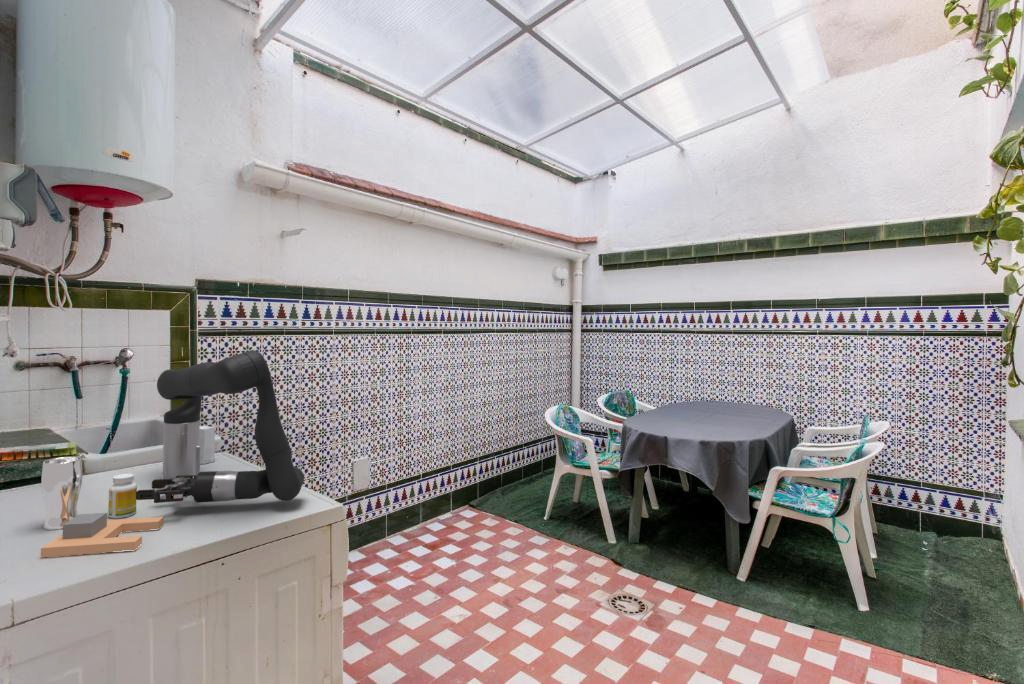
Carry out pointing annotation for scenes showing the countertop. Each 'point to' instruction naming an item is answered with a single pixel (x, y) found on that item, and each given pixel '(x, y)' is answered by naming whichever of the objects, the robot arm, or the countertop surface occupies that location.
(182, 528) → the countertop surface
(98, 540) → the orange forked bracket
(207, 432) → the skincare box
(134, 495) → the supplement bottle
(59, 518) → the beer glass
